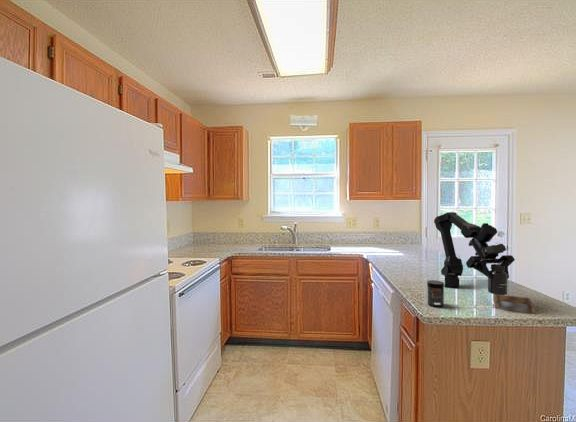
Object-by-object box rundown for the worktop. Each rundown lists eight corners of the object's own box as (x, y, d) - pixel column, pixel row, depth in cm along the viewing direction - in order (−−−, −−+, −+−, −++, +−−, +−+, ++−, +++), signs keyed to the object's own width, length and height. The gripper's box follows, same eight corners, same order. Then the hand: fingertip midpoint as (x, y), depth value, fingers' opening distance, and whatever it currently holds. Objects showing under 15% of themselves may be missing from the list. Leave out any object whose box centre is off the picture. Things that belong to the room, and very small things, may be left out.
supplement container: (440, 302, 134) (440, 280, 134) (446, 308, 127) (446, 284, 127) (425, 302, 135) (424, 280, 134) (430, 307, 128) (430, 284, 128)
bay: (495, 308, 126) (495, 301, 126) (493, 300, 136) (493, 293, 136) (534, 313, 119) (534, 306, 119) (529, 304, 129) (529, 297, 129)
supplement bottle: (504, 296, 121) (504, 267, 120) (485, 292, 126) (485, 265, 126) (509, 293, 125) (509, 265, 125) (491, 289, 130) (490, 262, 130)
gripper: (470, 237, 128) (488, 268, 118) (511, 236, 129) (533, 267, 118) (459, 252, 137) (475, 282, 126) (498, 251, 137) (517, 281, 127)
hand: (500, 278), depth 124 cm, fingers closed on supplement bottle, 7 cm apart
